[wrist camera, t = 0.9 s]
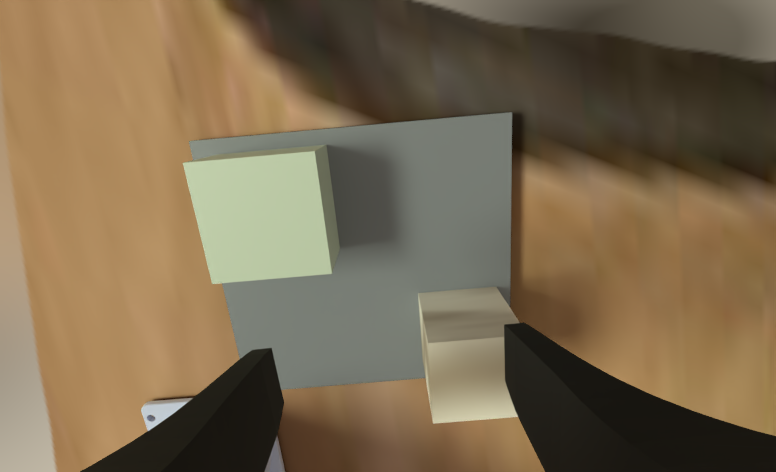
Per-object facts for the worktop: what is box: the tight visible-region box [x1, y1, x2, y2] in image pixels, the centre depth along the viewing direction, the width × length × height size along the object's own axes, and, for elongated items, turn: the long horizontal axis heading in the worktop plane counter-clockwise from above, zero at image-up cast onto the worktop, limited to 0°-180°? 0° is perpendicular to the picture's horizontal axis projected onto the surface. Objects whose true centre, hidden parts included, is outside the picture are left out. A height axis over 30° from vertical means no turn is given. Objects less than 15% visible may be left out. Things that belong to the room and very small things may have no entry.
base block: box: [183, 145, 340, 284], centre depth 19 cm, size 6×6×4 cm
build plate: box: [189, 112, 512, 390], centre depth 22 cm, size 15×16×1 cm
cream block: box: [418, 287, 520, 424], centre depth 20 cm, size 4×4×5 cm
